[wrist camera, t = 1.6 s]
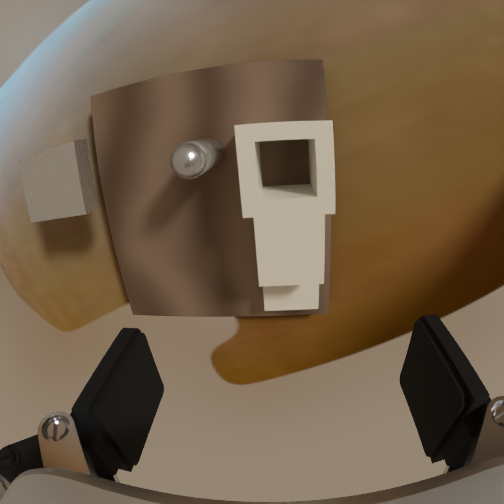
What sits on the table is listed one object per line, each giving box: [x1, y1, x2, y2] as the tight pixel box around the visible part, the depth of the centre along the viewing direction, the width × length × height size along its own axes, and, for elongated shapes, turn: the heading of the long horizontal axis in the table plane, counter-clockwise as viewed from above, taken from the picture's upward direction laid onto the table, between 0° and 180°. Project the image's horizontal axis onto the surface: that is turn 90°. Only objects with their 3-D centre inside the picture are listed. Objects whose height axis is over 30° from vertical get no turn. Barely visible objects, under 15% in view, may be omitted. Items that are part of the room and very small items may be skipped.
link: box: [234, 120, 335, 311], centre depth 19 cm, size 13×5×4 cm, turn 4°
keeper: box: [19, 139, 98, 223], centre depth 20 cm, size 6×5×6 cm
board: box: [91, 60, 331, 316], centre depth 22 cm, size 17×19×2 cm
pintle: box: [170, 138, 224, 179], centre depth 17 cm, size 2×2×6 cm
